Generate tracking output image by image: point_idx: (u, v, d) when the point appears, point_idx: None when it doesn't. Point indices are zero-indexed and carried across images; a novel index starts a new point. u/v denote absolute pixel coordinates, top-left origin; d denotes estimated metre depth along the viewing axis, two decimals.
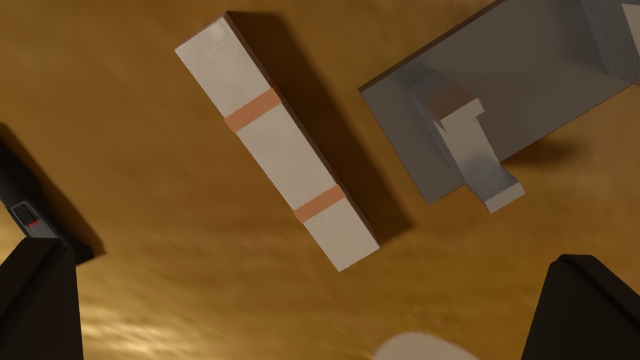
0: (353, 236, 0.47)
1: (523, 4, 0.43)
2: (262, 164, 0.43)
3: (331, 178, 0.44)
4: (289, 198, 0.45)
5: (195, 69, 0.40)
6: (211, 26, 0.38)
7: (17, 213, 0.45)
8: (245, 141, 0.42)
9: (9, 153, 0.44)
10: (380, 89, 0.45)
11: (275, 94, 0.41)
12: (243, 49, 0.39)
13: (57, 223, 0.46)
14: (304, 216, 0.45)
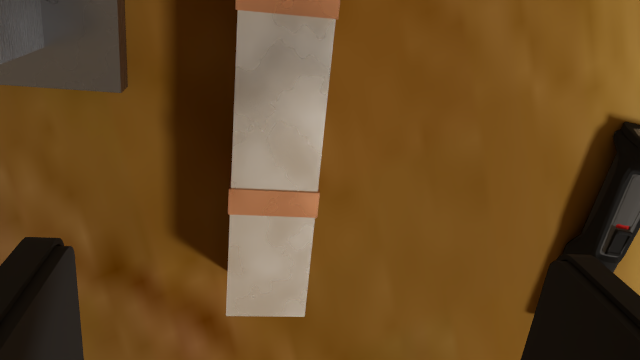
0: None
1: None
2: (319, 126, 0.26)
3: (239, 26, 0.23)
4: (326, 44, 0.24)
5: (299, 286, 0.29)
6: (245, 314, 0.29)
7: (621, 249, 0.33)
8: (315, 172, 0.26)
9: None
10: (87, 77, 0.26)
11: (230, 203, 0.26)
12: (229, 273, 0.28)
13: (605, 203, 0.33)
14: None
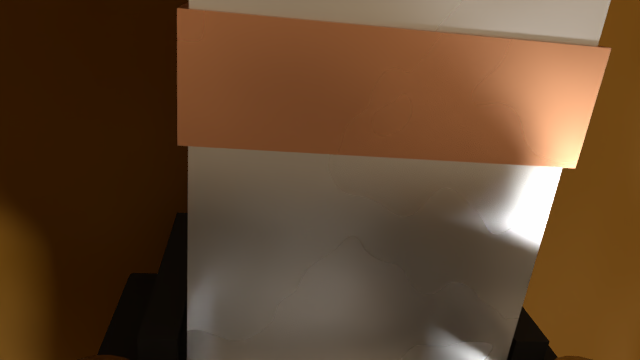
0: None
1: None
2: None
3: (196, 202, 0.06)
4: (515, 248, 0.07)
5: None
6: None
7: None
8: None
9: None
10: None
11: None
12: None
13: None
14: (550, 84, 0.06)
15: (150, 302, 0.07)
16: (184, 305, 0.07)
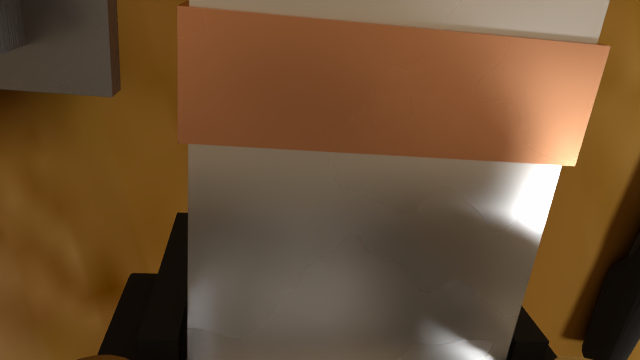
0: None
1: None
2: None
3: (197, 200, 0.06)
4: (514, 245, 0.07)
5: None
6: None
7: None
8: None
9: (595, 318, 0.33)
10: (74, 79, 0.23)
11: None
12: None
13: None
14: (549, 81, 0.06)
15: (150, 302, 0.07)
16: (184, 306, 0.07)
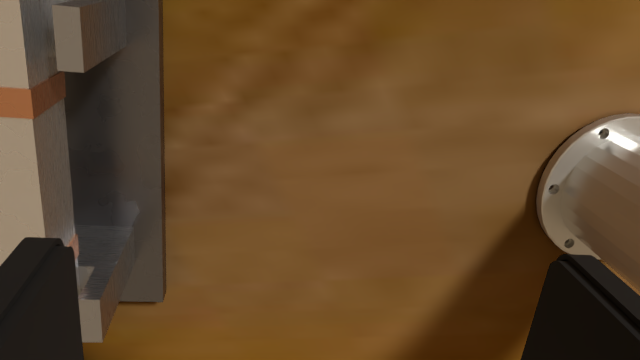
0: None
1: (145, 172, 0.37)
2: (38, 214, 0.27)
3: None
4: (27, 141, 0.25)
5: None
6: None
7: None
8: None
9: None
10: None
11: None
12: None
13: None
14: (17, 98, 0.24)
15: None
16: None
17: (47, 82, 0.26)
